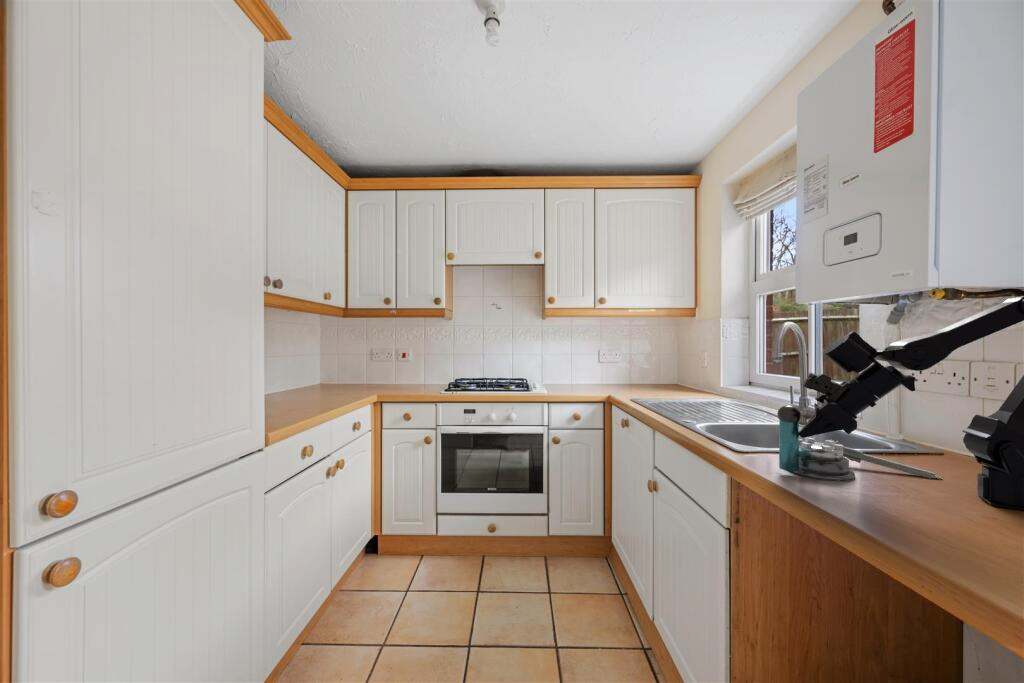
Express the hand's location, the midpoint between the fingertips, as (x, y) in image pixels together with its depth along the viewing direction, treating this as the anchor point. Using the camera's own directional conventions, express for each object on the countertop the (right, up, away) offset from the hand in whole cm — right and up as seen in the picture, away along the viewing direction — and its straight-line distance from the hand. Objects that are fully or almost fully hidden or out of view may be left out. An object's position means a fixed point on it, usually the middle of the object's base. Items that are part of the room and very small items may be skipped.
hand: (800, 435), depth 89 cm
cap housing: (+7, -9, +4) cm, 12 cm away
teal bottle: (+4, -8, +3) cm, 9 cm away
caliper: (+22, -10, +5) cm, 25 cm away
